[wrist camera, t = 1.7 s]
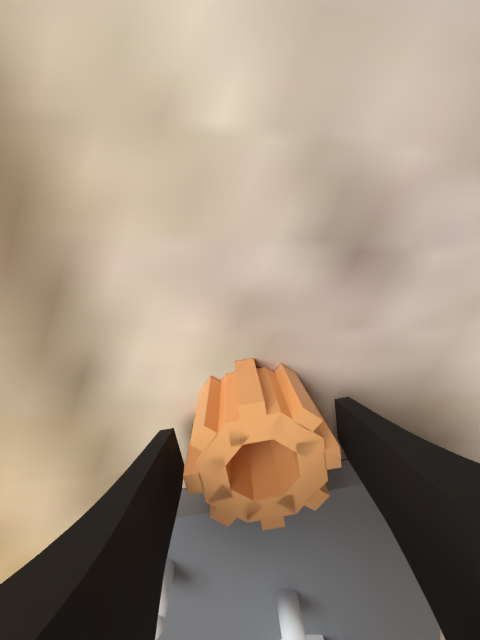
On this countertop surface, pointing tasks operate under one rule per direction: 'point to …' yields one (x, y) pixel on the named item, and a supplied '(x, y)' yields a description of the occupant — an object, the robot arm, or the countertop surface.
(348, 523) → the gear board
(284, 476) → the orange gear
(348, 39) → the countertop surface
